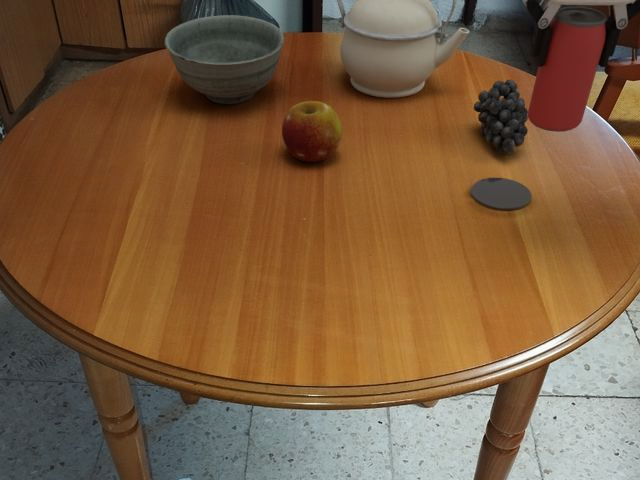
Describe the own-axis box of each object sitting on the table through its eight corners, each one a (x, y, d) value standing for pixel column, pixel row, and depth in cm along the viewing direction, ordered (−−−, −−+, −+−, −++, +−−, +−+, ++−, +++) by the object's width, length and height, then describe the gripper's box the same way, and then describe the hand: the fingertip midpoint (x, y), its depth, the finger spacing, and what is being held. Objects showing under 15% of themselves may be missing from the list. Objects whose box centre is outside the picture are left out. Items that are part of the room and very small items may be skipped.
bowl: (280, 69, 133) (278, 12, 126) (291, 116, 119) (289, 55, 112) (173, 74, 131) (165, 16, 124) (172, 122, 117) (163, 60, 110)
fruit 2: (533, 107, 101) (519, 66, 111) (477, 123, 104) (469, 81, 113) (537, 160, 108) (524, 116, 117) (485, 173, 110) (476, 129, 120)
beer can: (564, 108, 87) (593, 2, 78) (590, 130, 83) (623, 22, 74) (517, 113, 86) (540, 7, 77) (540, 136, 82) (568, 27, 73)
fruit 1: (271, 160, 108) (269, 110, 103) (299, 137, 114) (298, 88, 108) (324, 175, 106) (325, 123, 100) (350, 150, 111) (352, 101, 105)
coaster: (525, 180, 105) (525, 178, 105) (535, 211, 99) (536, 208, 99) (467, 179, 105) (467, 176, 105) (474, 210, 99) (475, 207, 99)
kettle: (316, 91, 126) (317, -70, 108) (350, 57, 138) (357, -94, 119) (446, 115, 120) (471, -52, 102) (470, 77, 132) (497, -79, 113)
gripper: (538, -126, 63) (500, 75, 77) (723, -125, 63) (652, 75, 77) (523, -141, 68) (489, 50, 82) (694, -140, 68) (632, 51, 82)
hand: (568, 61), depth 79 cm, fingers closed on beer can, 6 cm apart
